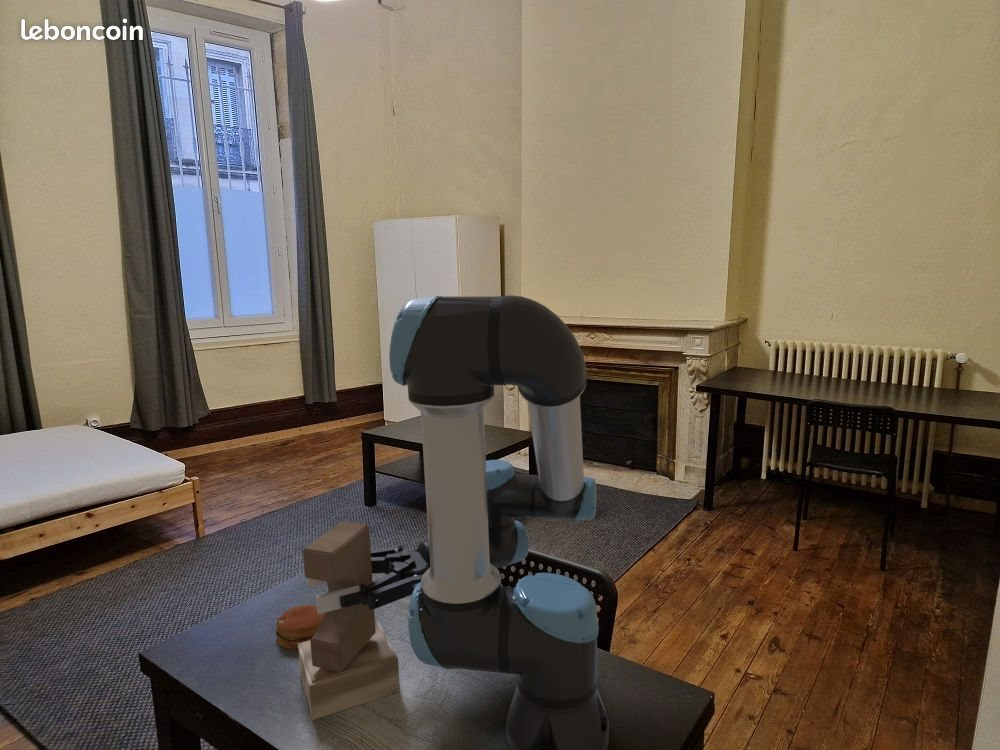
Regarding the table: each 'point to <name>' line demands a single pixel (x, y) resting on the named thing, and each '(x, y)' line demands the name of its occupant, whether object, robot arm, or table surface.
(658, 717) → the table surface
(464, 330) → the robot arm
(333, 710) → the plinth
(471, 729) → the table surface
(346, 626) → the decorative block
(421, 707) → the table surface
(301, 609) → the burger
